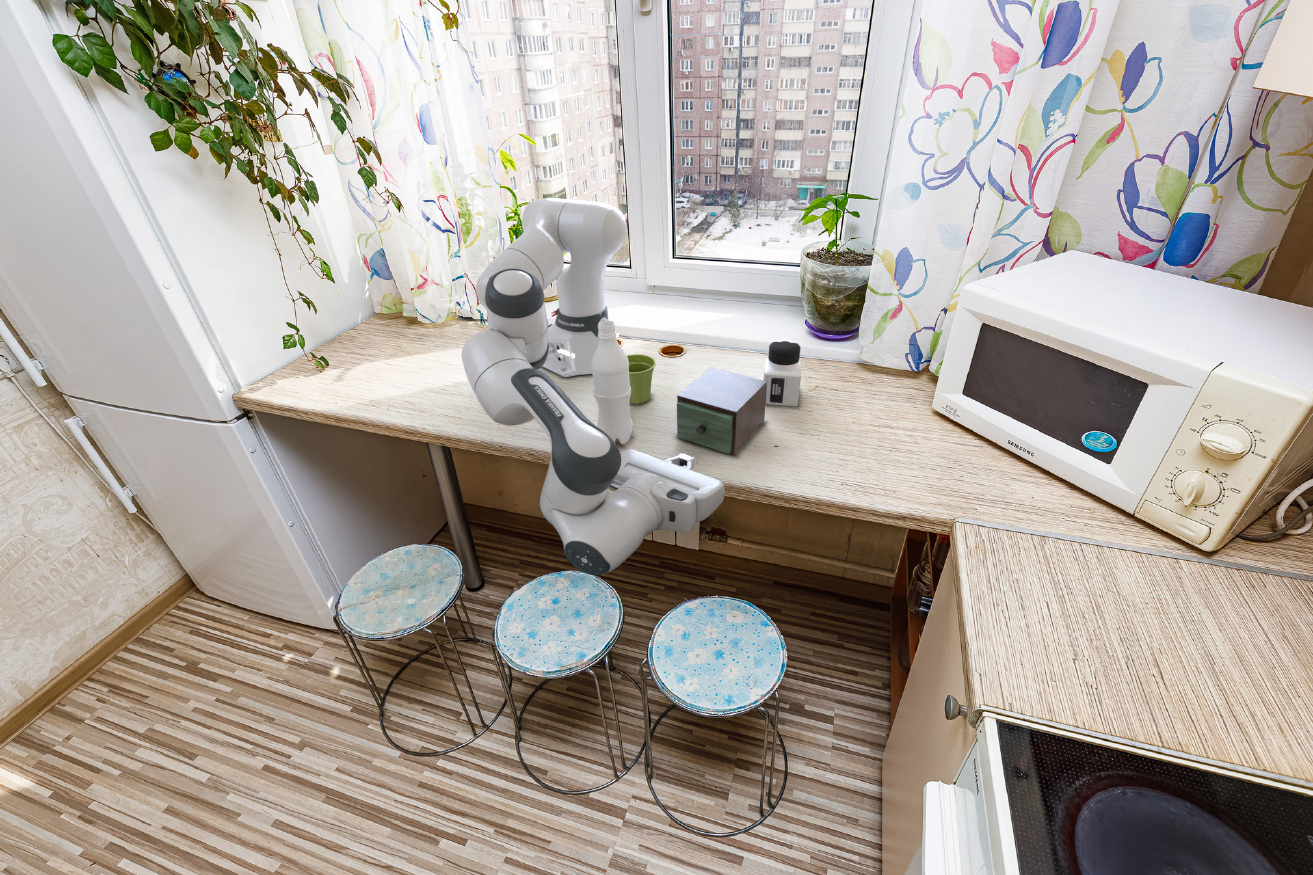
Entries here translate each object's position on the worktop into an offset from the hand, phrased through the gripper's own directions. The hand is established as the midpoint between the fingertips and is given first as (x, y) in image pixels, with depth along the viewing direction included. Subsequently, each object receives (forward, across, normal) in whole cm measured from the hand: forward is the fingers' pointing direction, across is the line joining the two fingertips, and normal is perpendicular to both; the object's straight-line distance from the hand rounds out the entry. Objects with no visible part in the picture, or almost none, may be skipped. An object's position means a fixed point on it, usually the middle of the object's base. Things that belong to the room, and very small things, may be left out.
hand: (688, 458), depth 107 cm
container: (+37, +2, -5) cm, 37 cm away
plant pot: (+20, -26, -5) cm, 33 cm away
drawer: (+16, -3, -4) cm, 16 cm away
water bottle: (+4, -20, -5) cm, 21 cm away
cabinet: (+18, -3, -5) cm, 19 cm away
